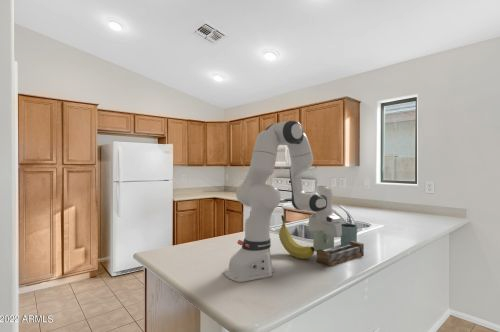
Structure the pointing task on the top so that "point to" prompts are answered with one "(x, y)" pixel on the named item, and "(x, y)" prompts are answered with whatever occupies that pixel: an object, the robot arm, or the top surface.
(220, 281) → the top surface
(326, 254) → the track base
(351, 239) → the grey-green cup
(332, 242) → the door panel
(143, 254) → the top surface
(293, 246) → the banana
